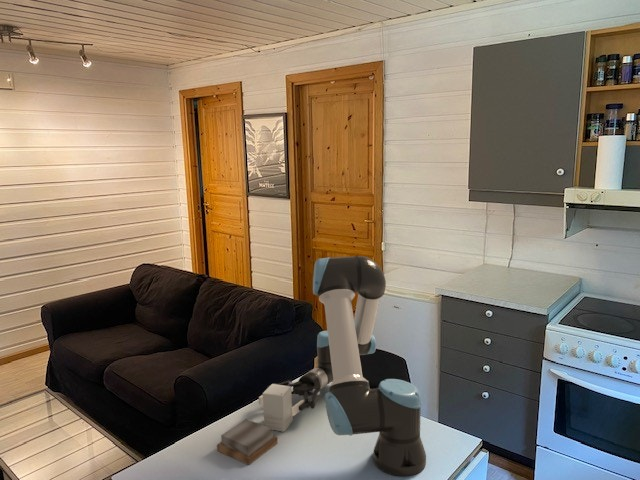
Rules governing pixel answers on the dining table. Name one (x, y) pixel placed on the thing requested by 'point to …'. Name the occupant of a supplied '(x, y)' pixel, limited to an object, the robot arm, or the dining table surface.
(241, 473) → the dining table surface
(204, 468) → the dining table surface
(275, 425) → the supplement box
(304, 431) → the dining table surface
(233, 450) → the tower plinth
